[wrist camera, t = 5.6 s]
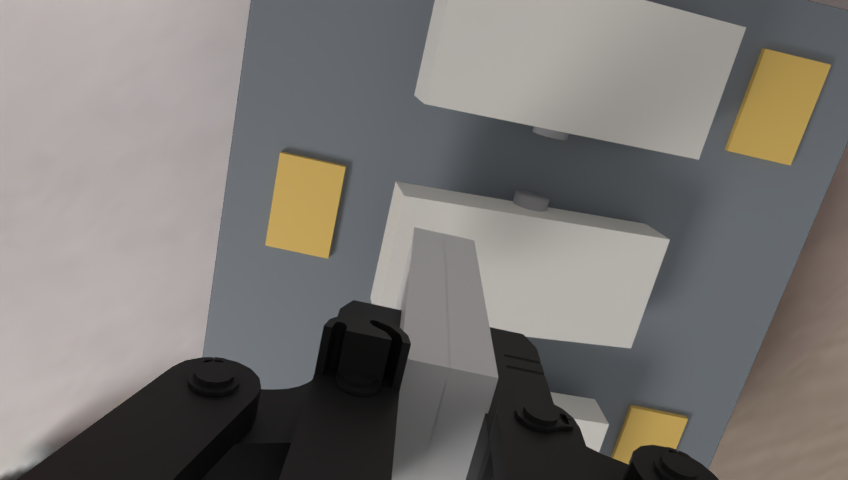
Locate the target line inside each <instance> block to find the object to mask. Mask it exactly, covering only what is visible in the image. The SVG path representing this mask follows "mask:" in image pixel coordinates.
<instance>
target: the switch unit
mask: <svg viewBox="0 0 848 480" xmlns="http://www.w3.org/2000/svg"><path fill="white" fill-rule="evenodd" d="M646 1H650V2H654V3H658V4H661V5H665V6H669V7H672V8H676V9H680V10H683V11H687V12H691V13H695V14H698V15H702V16H706V17H709V18H713V19H717V20H720V21H724V22H728V23H732V24H735V25H739V26H743V27H746V30H745V33H744V35H743V38H742V41H741V44H740V46H739V49H738V52H737V55H736V58H735V60H734V63H733V66H732V69H731V71H730V74H729V77H728V80H727V83H726V85H725V88H724V91H723V94H722V97H721V99H720V102H719V105H718V108H717V110H716V113H715V116H714V119H713V122H712V124H711V127H710V130H709V133H708V136H707V138H706V141H705V144H704V147H703V149H702V152H701V155H700V158H699V160H697V159H693V158H688V157H683V156H678V155H673V154H668V153H663V152H658V151H653V150H648V149H643V148H638V147H634V146H629V145H624V144H619V143H614V142H609V141H604V140H599V139H594V138H589V137H584V136H579V135H574V134H570V133H569V135H568V139H567V140H559V139H554V138H550V137H546V136H543V135H539V134H537V133H534V132H533V131H532V130H533V127H534V126H530V125H525V124H520V123H515V122H510V121H506V120H501V119H496V118H491V117H486V116H481V115H476V114H471V113H466V112H461V111H456V110H451V109H446V108H442V107H437V106H432V105H427V104H424V103H423V102H421V101H420V100H419V99H418V98H417V97H415V96H414V94H415V89H416V85H417V80H418V75H419V71H420V66H421V62H422V57H423V52H424V48H425V43H426V39H427V34H428V29H429V25H430V20H431V16H432V11H433V6H434V2H435V0H251V3H250V11H249V18H248V26H247V33H246V40H245V48H244V55H243V62H242V70H241V77H240V85H239V92H238V99H237V107H236V114H235V121H234V129H233V136H232V144H231V151H230V158H229V166H228V173H227V180H226V188H225V195H224V202H223V210H222V217H221V225H220V232H219V239H218V247H217V254H216V261H215V269H214V276H213V284H212V291H211V298H210V306H209V313H208V320H207V328H206V335H205V343H204V350H203V357H212V358H215V357H218V358H225V359H227V360H232V361H236V362H239V363H241V364H243V365H245V366H247V367H249V368H251V369H252V370H253V371H254V372H255V373H256V375H257V376H258V377H259V379H260V384H261V389H289V388H293V387H298V386H301V385H303V384H306V383H308V382H310V381H311V380H312V379H313V376H314V373H315V368H316V363H317V358H318V352H319V347H320V342H321V337H322V332H323V327H324V325H325V324H326V323H327V322H328V320H329V319H331V318H334V317H337V316H338V313H339V310H340V308H342V307H343V306H345V305H346V304H348V303H350V302H351V301H353V300H356V301H360V302H365V303H370V304H372V302H371V299H370V297H371V292H372V287H373V283H374V278H375V274H376V269H377V264H378V260H379V255H380V251H381V246H382V241H383V237H384V232H385V228H386V223H387V218H388V214H389V209H390V204H391V200H392V195H393V191H394V186H395V181H397V182H402V183H408V184H414V185H420V186H426V187H432V188H438V189H444V190H450V191H456V192H461V193H467V194H473V195H479V196H485V197H491V198H497V199H503V200H509V201H513V199H514V196H515V192H516V191H518V190H522V191H529V192H533V193H536V194H540V195H542V196H544V197H546V198H548V199H549V203H548V207H550V208H556V209H562V210H568V211H573V212H579V213H585V214H591V215H597V216H603V217H609V218H615V219H621V220H627V221H632V222H638V223H644V224H647V225H648V226H650V227H652V228H653V229H655V230H656V231H658V232H659V233H661V234H662V235H664V236H665V237H667V238H668V239H670V241H669V244H668V247H667V250H666V252H665V255H664V258H663V261H662V264H661V266H660V269H659V272H658V275H657V277H656V280H655V283H654V286H653V289H652V291H651V294H650V297H649V300H648V302H647V305H646V308H645V311H644V314H643V316H642V319H641V322H640V325H639V328H638V330H637V333H636V336H635V339H634V341H633V344H632V347H631V348H622V347H613V346H604V345H595V344H587V343H578V342H569V341H560V340H551V339H542V338H533V337H526V338H527V339H528V340H529V341H530V342H531V343H532V344H533V345H534V346H535V347H536V348H537V351H538V354H539V358H540V361H541V365H542V367H543V370H544V376H545V377H546V380H547V383H548V387H549V390H550V392H554V393H560V394H566V395H572V396H578V397H584V398H590V399H595V400H596V402H597V404H598V405H599V407H600V409H601V411H602V413H603V414H604V416H605V418H606V420H607V421H608V423H609V426H608V429H607V432H606V434H605V437H604V440H603V443H602V445H601V448H600V451H599V453H601V454H604V455H606V456H609V457H611V458H613V459H616V460H618V461H621V462H623V463H626V464H629V461H630V458H631V456H632V453H633V451H634V450H636V449H637V448H639V447H640V446H646V445H657V446H663V447H670V448H673V449H677V451H682V452H684V453H686V454H688V455H689V456H690V457H691V458H693V459H695V460H696V461H698V462H700V463H701V464H703V465H704V466H705V467H706V468H707V469H708V468H709V466H710V464H711V461H712V459H713V457H714V454H715V452H716V450H717V447H718V445H719V442H720V440H721V438H722V435H723V433H724V431H725V428H726V426H727V424H728V421H729V419H730V417H731V414H732V412H733V410H734V407H735V405H736V403H737V400H738V398H739V396H740V393H741V391H742V389H743V386H744V384H745V382H746V379H747V377H748V375H749V372H750V370H751V367H752V365H753V363H754V360H755V358H756V356H757V353H758V351H759V349H760V346H761V344H762V342H763V339H764V337H765V335H766V332H767V330H768V328H769V325H770V323H771V321H772V318H773V316H774V314H775V311H776V309H777V307H778V304H779V302H780V300H781V297H782V295H783V292H784V290H785V288H786V285H787V283H788V281H789V278H790V276H791V274H792V271H793V269H794V267H795V264H796V262H797V260H798V257H799V255H800V253H801V250H802V248H803V246H804V243H805V241H806V239H807V236H808V234H809V232H810V229H811V227H812V225H813V222H814V220H815V217H816V215H817V213H818V210H819V208H820V206H821V203H822V201H823V199H824V196H825V194H826V192H827V189H828V187H829V185H830V182H831V180H832V178H833V175H834V173H835V171H836V168H837V166H838V164H839V161H840V159H841V157H842V154H843V152H844V150H845V147H846V145H847V143H848V10H844V9H840V8H836V7H832V6H828V5H824V4H820V3H816V2H812V1H808V0H646Z"/></svg>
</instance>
